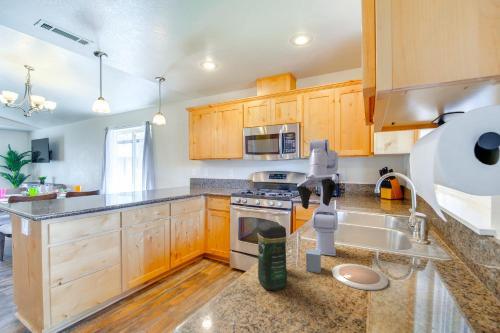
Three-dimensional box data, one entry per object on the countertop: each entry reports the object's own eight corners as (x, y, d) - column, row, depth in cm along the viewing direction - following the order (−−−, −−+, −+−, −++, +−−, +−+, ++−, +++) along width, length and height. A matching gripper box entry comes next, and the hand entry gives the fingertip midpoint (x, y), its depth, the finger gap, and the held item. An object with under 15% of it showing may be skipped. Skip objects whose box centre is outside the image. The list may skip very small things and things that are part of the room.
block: (307, 265, 81) (307, 248, 81) (321, 267, 80) (320, 250, 80) (306, 270, 77) (306, 253, 77) (320, 273, 75) (319, 255, 75)
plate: (332, 263, 83) (332, 260, 83) (382, 269, 77) (382, 266, 77) (331, 284, 68) (331, 281, 68) (393, 294, 62) (393, 290, 62)
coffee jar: (291, 288, 66) (290, 225, 66) (265, 293, 63) (264, 227, 64) (277, 273, 75) (276, 218, 75) (255, 277, 73) (254, 220, 73)
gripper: (293, 169, 80) (288, 204, 73) (330, 157, 69) (328, 197, 63) (305, 177, 83) (302, 212, 77) (342, 167, 73) (342, 206, 66)
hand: (315, 206), depth 70 cm, fingers open, 7 cm apart
